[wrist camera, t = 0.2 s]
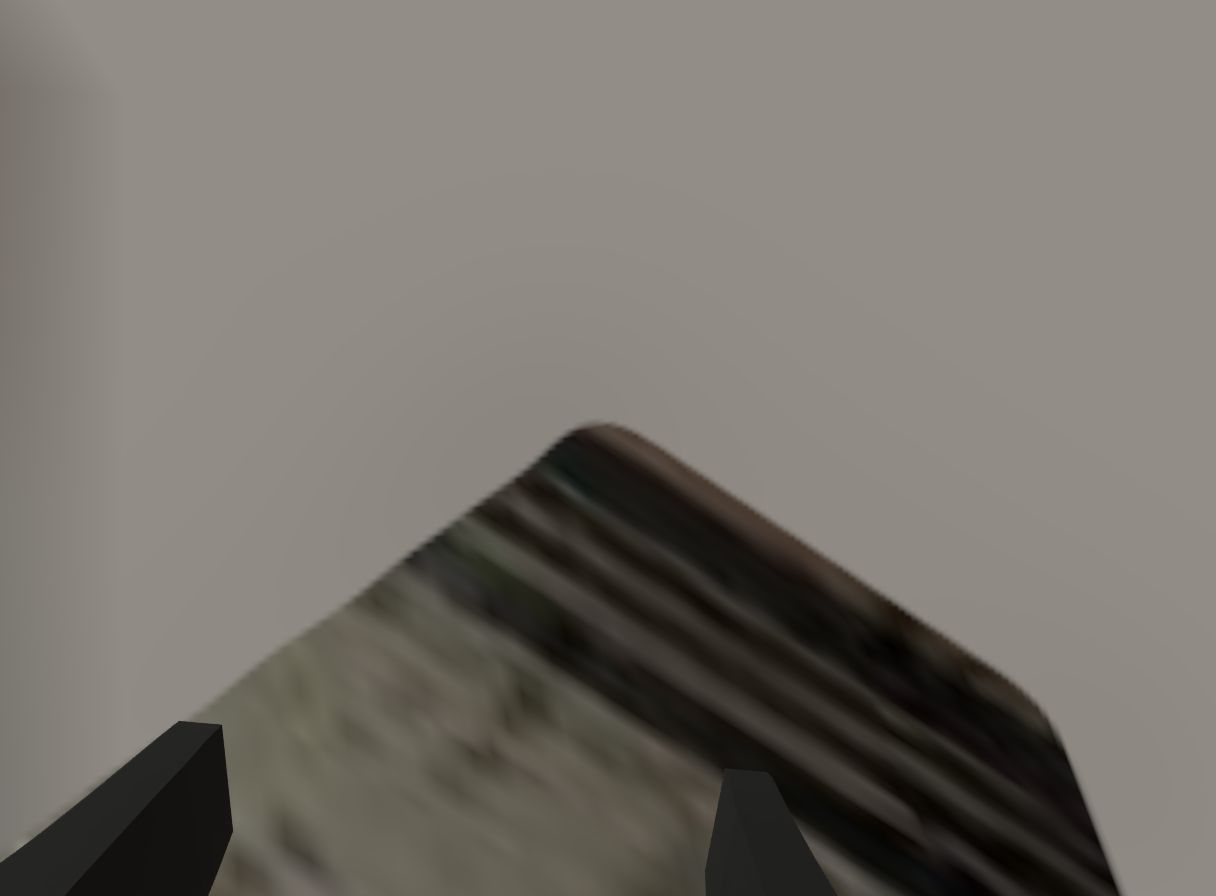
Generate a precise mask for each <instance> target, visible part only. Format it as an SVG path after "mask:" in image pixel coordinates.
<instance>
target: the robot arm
mask: <svg viewBox="0 0 1216 896" xmlns="http://www.w3.org/2000/svg"><path fill="white" fill-rule="evenodd" d="M232 833H233V826H232V816H231V807H230V797H229V788H228V778H227V769H226V759H225V750H224V740H223V730H222V725H219V724H208V723H196V722H185V721H178V722H177V723H176V724H175V725H173V726H172V727H171V728H169V729H168V730H167V731H166V732H164V733H163V734H162V735H161V736H159V737H158V738H157V739H156V740H154V741H153V742H152V743H151V744H150V745H148V746H147V747H146V748H145V749H144V750H142V751H141V752H140V753H139V754H137V755H136V756H135V757H134V758H133V759H131V760H130V761H129V762H128V763H127V764H125V765H124V766H123V767H122V768H121V769H119V770H118V771H117V772H116V773H115V774H113V775H112V776H111V777H110V778H108V779H107V780H106V781H105V782H104V783H102V784H101V785H100V786H99V787H97V788H96V789H95V790H94V791H93V792H91V793H90V794H89V795H88V796H86V797H85V798H84V799H83V800H81V801H80V802H79V803H78V804H76V805H75V806H74V807H73V808H71V809H70V810H69V811H67V812H66V813H65V814H64V815H62V816H61V817H60V818H59V819H57V820H56V821H55V822H54V823H52V824H51V825H50V826H49V827H47V828H46V829H45V830H44V831H42V832H41V833H40V834H38V835H37V836H36V837H35V838H33V839H32V840H31V841H29V842H28V843H27V844H25V845H24V846H23V847H21V848H20V849H19V850H17V851H16V852H15V853H13V854H12V855H10V856H9V857H8V858H6V859H5V860H4V861H2V862H1V863H0V896H208V895H209V892H210V890H211V887H212V885H213V882H214V880H215V877H216V875H217V872H218V870H219V867H220V865H221V862H222V859H223V857H224V854H225V851H226V849H227V846H228V843H229V841H230V838H231V835H232ZM705 882H706V896H837V894H836V892H835V891H834V889H833V888H832V886H831V884H830V883H829V881H828V879H827V878H826V876H825V875H824V873H823V871H822V869H821V868H820V866H819V864H818V863H817V861H816V859H815V857H814V856H813V854H812V852H811V850H810V849H809V847H808V845H807V843H806V841H805V840H804V838H803V836H802V834H801V832H800V831H799V829H798V827H797V825H796V823H795V821H794V819H793V817H792V816H791V814H790V812H789V810H788V808H787V806H786V804H785V802H784V800H783V798H782V796H781V794H780V792H779V790H778V788H777V786H776V784H775V782H774V780H773V778H772V777H771V776H770V775H769V774H768V772H759V771H748V770H736V769H725V772H724V777H723V782H722V787H721V792H720V797H719V802H718V808H717V813H716V818H715V823H714V828H713V833H712V838H711V843H710V848H709V853H708V859H707V864H706V869H705Z"/></svg>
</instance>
